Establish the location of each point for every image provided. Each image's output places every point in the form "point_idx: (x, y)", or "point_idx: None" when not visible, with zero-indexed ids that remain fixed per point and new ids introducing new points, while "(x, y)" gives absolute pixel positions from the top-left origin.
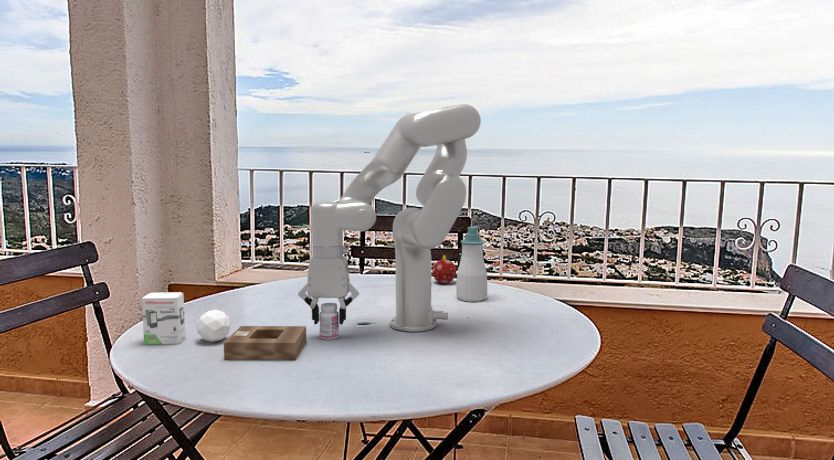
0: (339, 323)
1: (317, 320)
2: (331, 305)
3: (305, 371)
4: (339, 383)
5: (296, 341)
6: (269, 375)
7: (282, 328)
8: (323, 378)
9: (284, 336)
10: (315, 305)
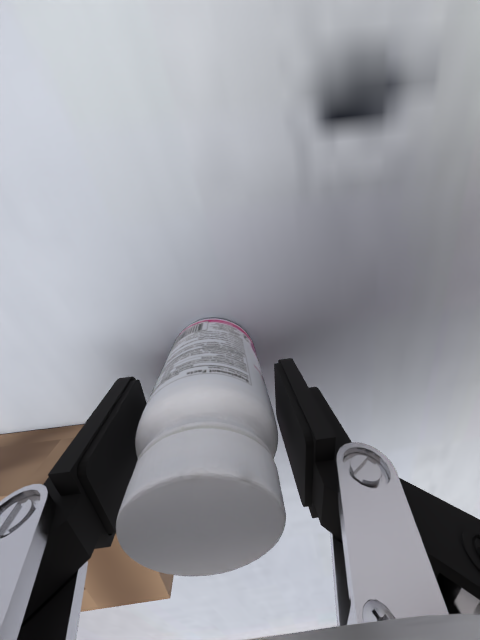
0: (278, 420)
1: None
2: (240, 550)
3: None
4: (312, 578)
5: (165, 581)
6: None
7: None
8: (278, 571)
9: (98, 573)
10: (80, 578)
